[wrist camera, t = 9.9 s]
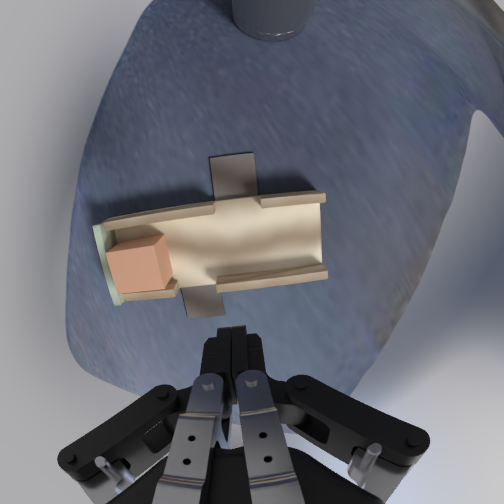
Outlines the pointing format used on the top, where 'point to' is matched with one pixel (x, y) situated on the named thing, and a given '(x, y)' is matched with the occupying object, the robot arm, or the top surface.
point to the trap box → (226, 239)
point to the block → (140, 264)
